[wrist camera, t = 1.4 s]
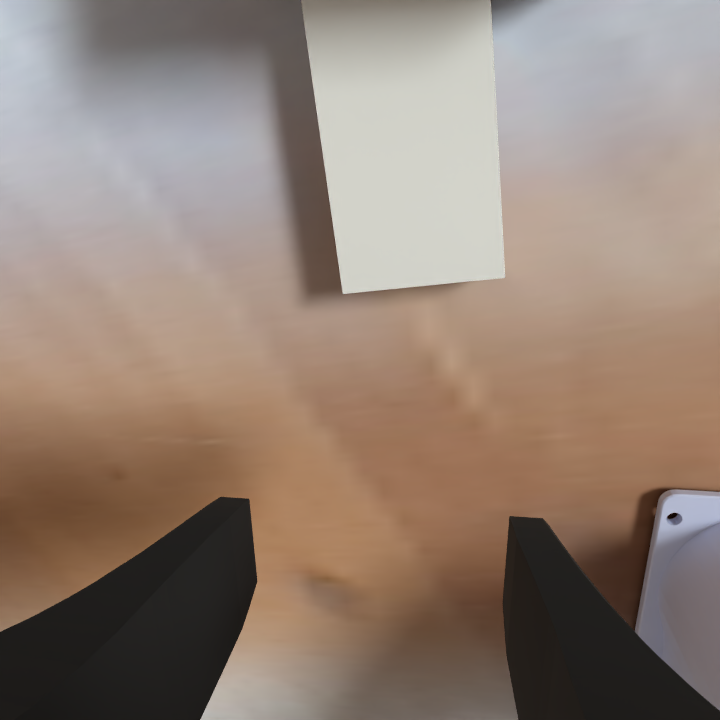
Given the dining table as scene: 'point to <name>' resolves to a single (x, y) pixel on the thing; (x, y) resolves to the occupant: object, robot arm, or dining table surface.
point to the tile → (408, 139)
